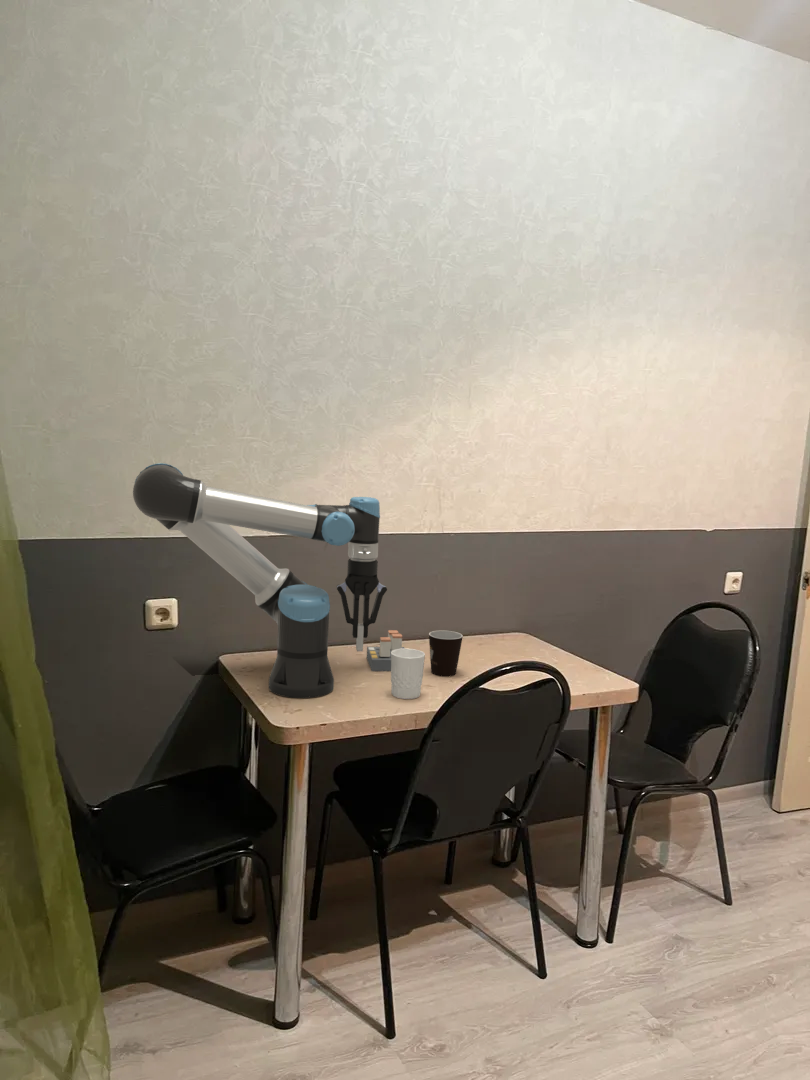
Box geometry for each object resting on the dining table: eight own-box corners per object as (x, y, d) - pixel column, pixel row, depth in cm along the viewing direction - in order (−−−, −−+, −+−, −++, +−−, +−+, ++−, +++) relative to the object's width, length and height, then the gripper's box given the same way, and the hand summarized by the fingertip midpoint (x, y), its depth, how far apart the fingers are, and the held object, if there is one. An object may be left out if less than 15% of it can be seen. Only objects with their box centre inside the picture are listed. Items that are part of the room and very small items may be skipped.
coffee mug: (457, 679, 202) (460, 640, 200) (423, 675, 204) (426, 637, 202) (463, 666, 213) (466, 629, 212) (431, 663, 215) (433, 626, 213)
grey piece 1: (380, 656, 206) (381, 639, 206) (379, 654, 209) (380, 637, 208) (390, 656, 207) (390, 639, 206) (388, 654, 209) (389, 637, 208)
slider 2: (392, 653, 210) (392, 636, 209) (390, 650, 213) (391, 633, 212) (401, 653, 211) (402, 636, 210) (400, 650, 213) (401, 633, 212)
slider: (388, 649, 213) (389, 632, 213) (387, 646, 216) (388, 630, 215) (397, 649, 214) (398, 632, 213) (396, 646, 216) (397, 630, 216)
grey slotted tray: (371, 671, 205) (372, 658, 205) (366, 657, 217) (367, 645, 216) (410, 671, 207) (411, 659, 206) (403, 657, 218) (404, 646, 218)
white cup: (410, 687, 194) (412, 646, 193) (429, 697, 188) (431, 655, 186) (382, 691, 190) (384, 650, 188) (400, 702, 183) (402, 659, 182)
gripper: (337, 560, 198) (334, 654, 202) (390, 561, 200) (386, 654, 204) (335, 555, 206) (332, 645, 209) (386, 556, 208) (382, 645, 211)
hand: (359, 649), depth 206 cm, fingers closed
